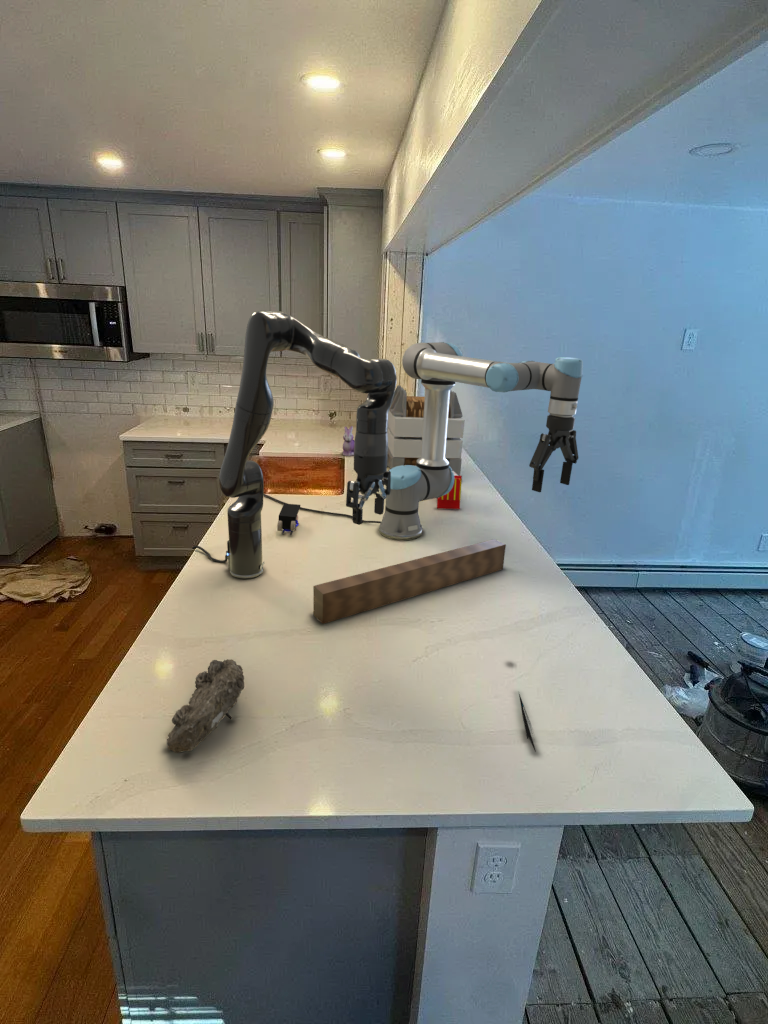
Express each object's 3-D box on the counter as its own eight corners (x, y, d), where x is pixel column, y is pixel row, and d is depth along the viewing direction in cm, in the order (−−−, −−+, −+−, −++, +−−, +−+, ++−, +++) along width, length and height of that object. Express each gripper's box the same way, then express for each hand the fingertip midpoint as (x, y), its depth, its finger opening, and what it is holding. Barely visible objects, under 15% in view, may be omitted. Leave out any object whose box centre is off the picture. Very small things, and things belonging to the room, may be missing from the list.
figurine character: (296, 541, 193) (301, 521, 206) (295, 521, 189) (301, 502, 203) (276, 540, 193) (283, 520, 206) (275, 520, 189) (282, 501, 203)
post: (491, 563, 180) (494, 538, 177) (502, 569, 176) (506, 544, 173) (313, 615, 145) (313, 585, 142) (322, 624, 141) (323, 594, 138)
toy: (454, 466, 251) (466, 476, 222) (452, 496, 254) (463, 510, 225) (427, 466, 251) (435, 475, 222) (425, 495, 254) (433, 509, 224)
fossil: (192, 660, 117) (244, 628, 112) (224, 691, 120) (276, 661, 115) (142, 746, 98) (202, 712, 93) (182, 779, 101) (242, 748, 96)
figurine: (345, 456, 298) (346, 428, 293) (338, 452, 306) (338, 424, 301) (361, 455, 302) (362, 427, 297) (353, 451, 310) (354, 424, 305)
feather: (511, 668, 129) (516, 662, 128) (535, 756, 102) (542, 749, 102) (505, 664, 129) (510, 658, 128) (527, 751, 102) (534, 744, 101)
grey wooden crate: (382, 463, 289) (386, 382, 275) (445, 464, 293) (451, 384, 279) (390, 482, 257) (394, 392, 243) (460, 483, 261) (468, 394, 247)
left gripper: (375, 442, 134) (372, 507, 140) (337, 453, 123) (336, 523, 129) (402, 448, 130) (398, 514, 136) (365, 459, 119) (363, 531, 125)
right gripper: (545, 420, 148) (534, 497, 155) (598, 413, 163) (586, 484, 170) (522, 416, 154) (513, 490, 161) (575, 409, 169) (564, 478, 176)
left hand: (368, 518), depth 132 cm, fingers open, 8 cm apart
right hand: (550, 487), depth 166 cm, fingers open, 13 cm apart
